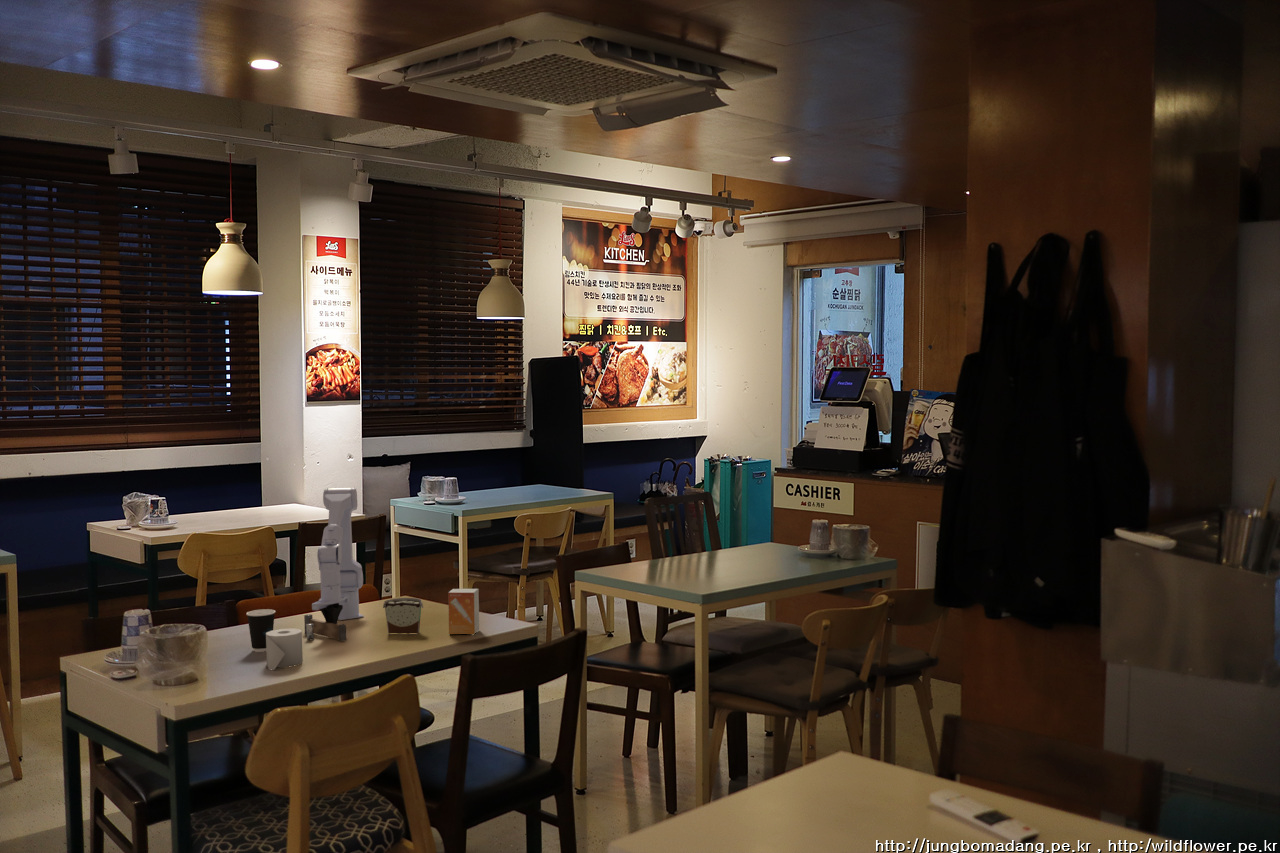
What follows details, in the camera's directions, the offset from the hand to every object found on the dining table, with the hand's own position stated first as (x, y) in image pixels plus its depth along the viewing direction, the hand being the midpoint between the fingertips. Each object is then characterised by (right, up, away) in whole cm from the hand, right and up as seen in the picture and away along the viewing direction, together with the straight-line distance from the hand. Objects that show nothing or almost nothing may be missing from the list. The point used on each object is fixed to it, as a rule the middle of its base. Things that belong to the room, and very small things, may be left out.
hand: (331, 629), depth 328 cm
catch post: (-5, -2, -4) cm, 7 cm away
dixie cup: (-15, -3, -16) cm, 23 cm away
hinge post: (-8, -2, +5) cm, 10 cm away
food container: (+22, -2, +4) cm, 22 cm away
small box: (+40, -2, +1) cm, 40 cm away
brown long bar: (-1, -2, -2) cm, 3 cm away
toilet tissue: (-4, -4, -34) cm, 34 cm away
